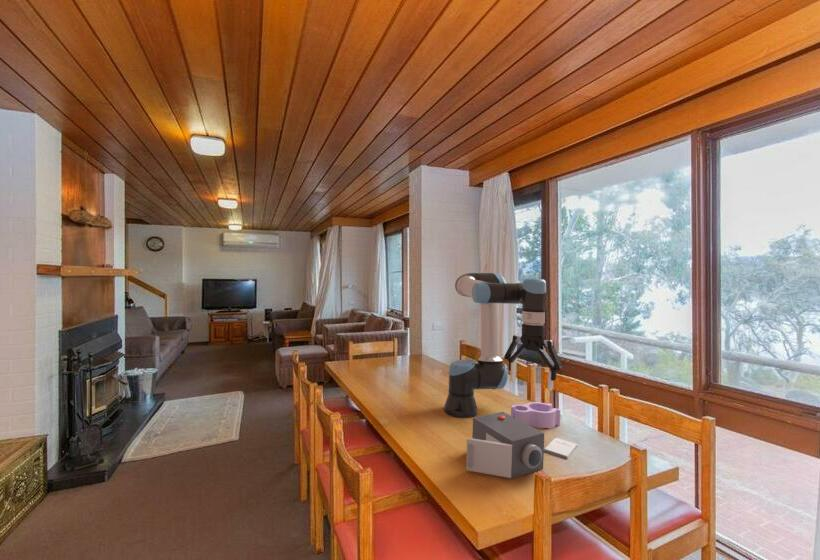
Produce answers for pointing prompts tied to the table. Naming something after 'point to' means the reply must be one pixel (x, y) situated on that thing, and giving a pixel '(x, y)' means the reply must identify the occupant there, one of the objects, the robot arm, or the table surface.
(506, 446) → the side door
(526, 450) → the camera housing
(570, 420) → the table surface
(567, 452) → the external hard drive
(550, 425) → the clip
